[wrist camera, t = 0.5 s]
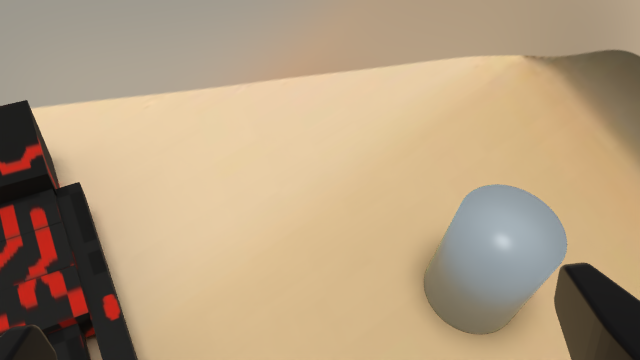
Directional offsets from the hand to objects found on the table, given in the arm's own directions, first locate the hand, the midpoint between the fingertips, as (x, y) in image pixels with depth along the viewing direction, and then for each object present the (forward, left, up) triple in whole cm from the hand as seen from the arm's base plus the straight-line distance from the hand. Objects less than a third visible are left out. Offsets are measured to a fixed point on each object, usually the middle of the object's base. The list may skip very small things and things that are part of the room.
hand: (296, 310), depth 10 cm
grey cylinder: (+10, -10, -17) cm, 22 cm away
